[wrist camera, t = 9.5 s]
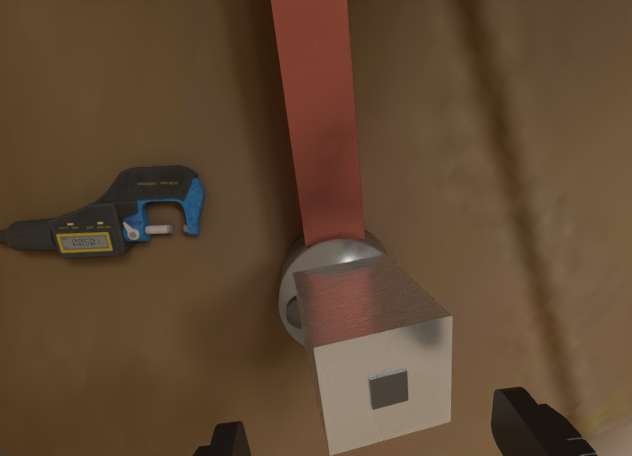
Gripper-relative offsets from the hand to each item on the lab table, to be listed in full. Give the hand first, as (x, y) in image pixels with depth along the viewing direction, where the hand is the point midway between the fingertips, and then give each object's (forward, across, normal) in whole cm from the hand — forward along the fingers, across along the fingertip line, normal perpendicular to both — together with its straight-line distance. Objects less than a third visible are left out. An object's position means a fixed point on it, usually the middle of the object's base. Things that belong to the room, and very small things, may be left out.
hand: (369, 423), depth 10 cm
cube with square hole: (+7, 0, 0) cm, 7 cm away
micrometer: (+12, +13, -6) cm, 18 cm away
